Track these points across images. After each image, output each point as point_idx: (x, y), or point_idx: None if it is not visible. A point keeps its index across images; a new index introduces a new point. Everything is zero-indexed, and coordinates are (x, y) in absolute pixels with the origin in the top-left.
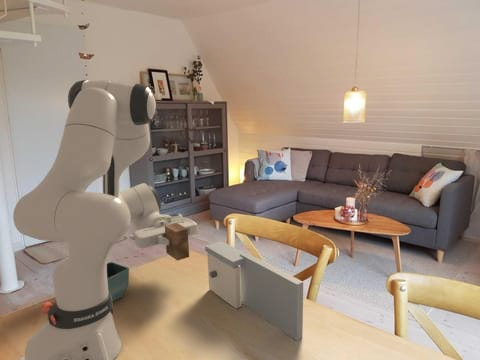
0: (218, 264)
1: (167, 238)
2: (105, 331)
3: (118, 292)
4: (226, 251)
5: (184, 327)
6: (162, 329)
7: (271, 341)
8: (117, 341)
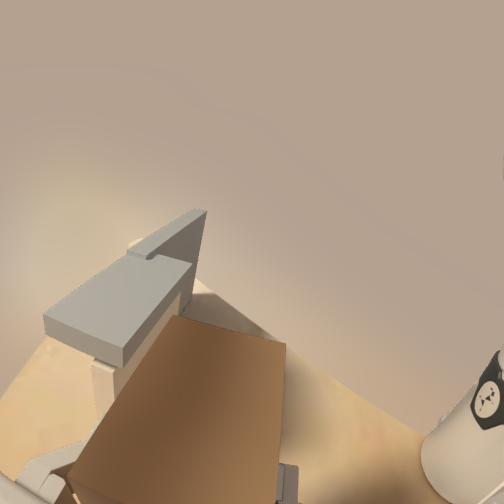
0: (147, 344)
1: (279, 488)
2: (470, 390)
3: None
4: (136, 283)
5: (298, 422)
6: (340, 447)
7: (213, 315)
8: (435, 433)
